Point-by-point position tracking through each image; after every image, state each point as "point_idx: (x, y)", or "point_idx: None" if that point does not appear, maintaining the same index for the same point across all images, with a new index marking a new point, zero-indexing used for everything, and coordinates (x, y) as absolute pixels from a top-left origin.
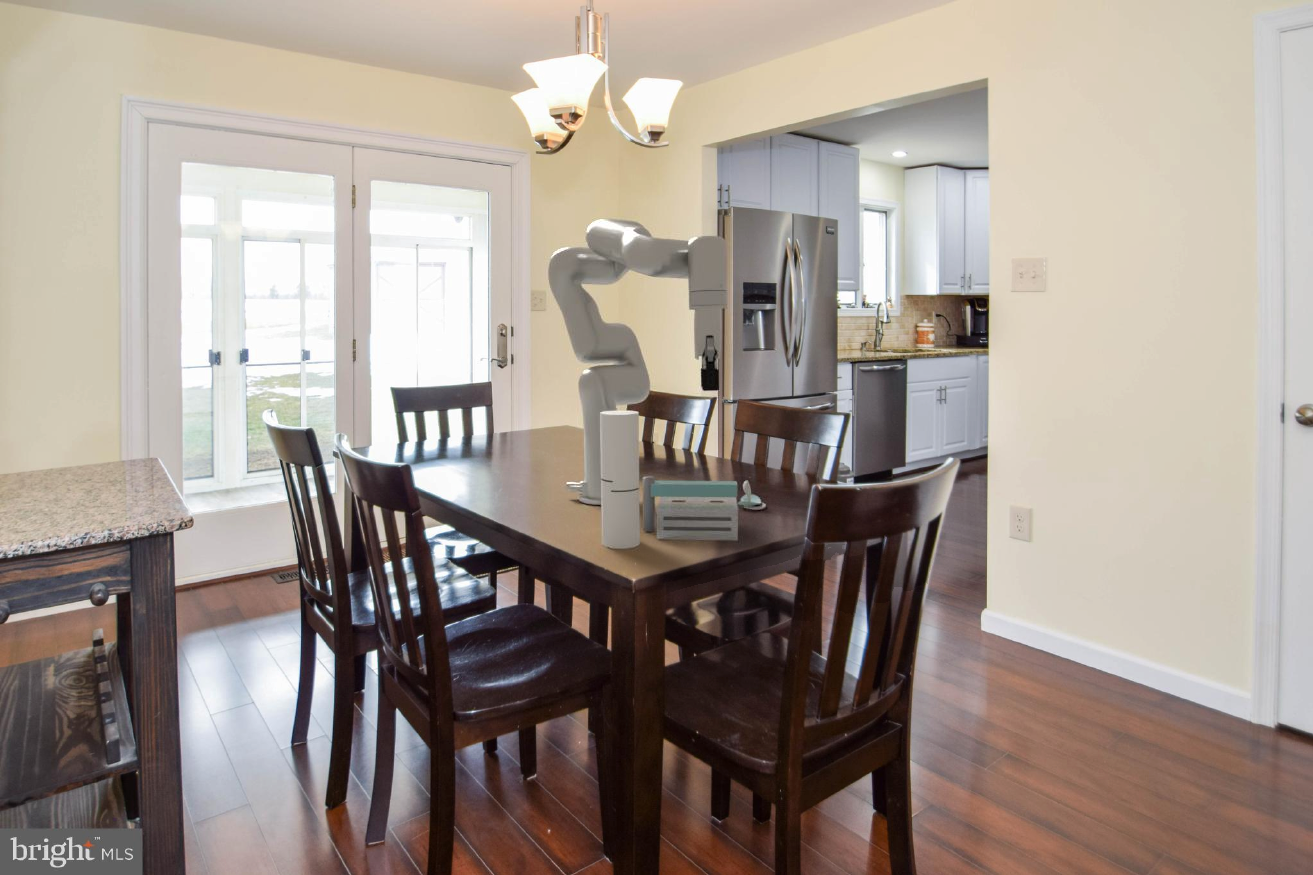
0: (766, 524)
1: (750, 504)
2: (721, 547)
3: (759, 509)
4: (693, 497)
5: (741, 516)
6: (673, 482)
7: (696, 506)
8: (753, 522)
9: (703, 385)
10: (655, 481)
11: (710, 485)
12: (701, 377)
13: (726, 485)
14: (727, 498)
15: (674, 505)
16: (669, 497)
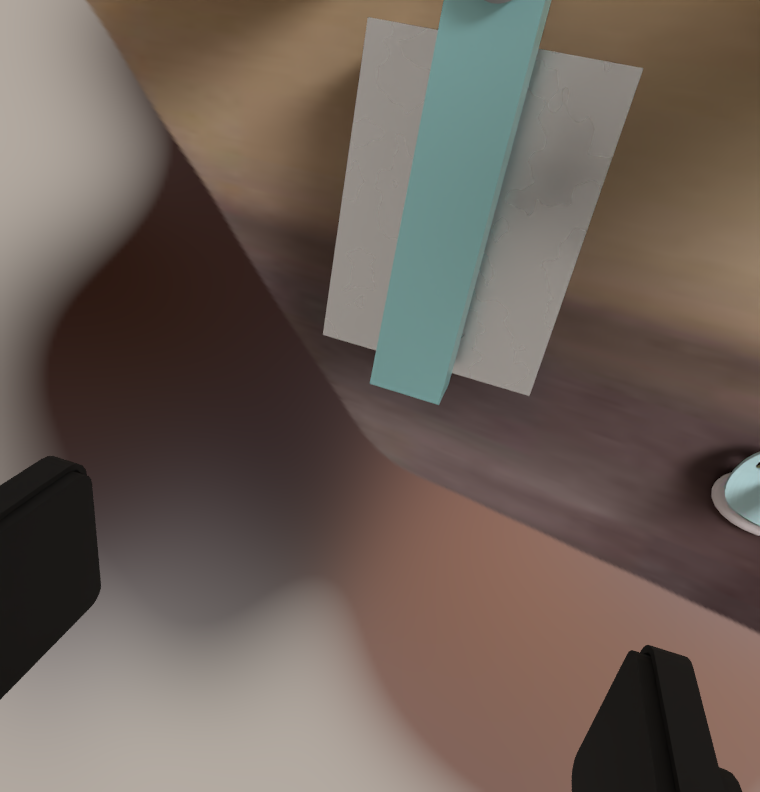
0: (516, 442)
1: (736, 481)
2: (295, 240)
3: (713, 495)
4: (551, 226)
5: (645, 410)
6: (466, 116)
7: (388, 203)
8: (551, 417)
9: (12, 491)
10: (515, 10)
11: (390, 282)
12: (677, 787)
13: (378, 344)
14: (499, 355)
15: (418, 111)
16: (585, 111)
